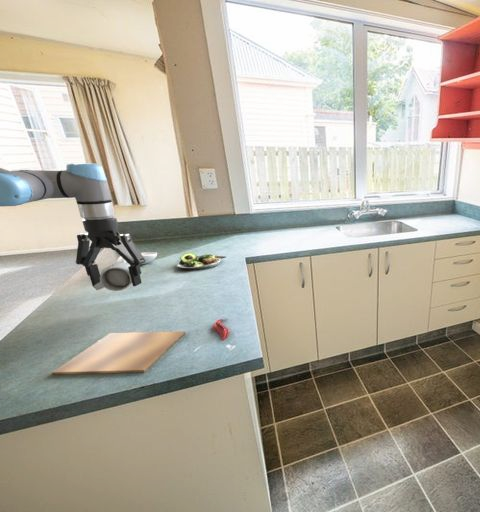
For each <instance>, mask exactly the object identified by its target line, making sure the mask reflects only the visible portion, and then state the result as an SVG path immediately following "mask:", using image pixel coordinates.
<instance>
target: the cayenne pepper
mask: <svg viewBox="0 0 480 512" xmlns="http://www.w3.org/2000/svg"><path fill="white" fill-rule="evenodd" d="M222 322H223V319H222V318H220V319H218V320H216V321H215V322H214V323H213V324H212V330H213V331H214V332H217V333H218V334H219V335H220V337H221V341H224V340H226V339H227V338H228V337H229V335H230V333H229V329H228V328H227V326H225V325H223V324H222Z"/></svg>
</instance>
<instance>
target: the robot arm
mask: <svg viewBox="0 0 480 512" xmlns="http://www.w3.org/2000/svg"><path fill="white" fill-rule="evenodd" d="M65 167H66V169H64V170H40V169H39V170H37V169H36V170H35V169H33V170H32V169H18V170H9V169H5V168H2V167H0V207H17V206H22V205H25V204H28V203H32V202H38V201H41V200H42V201H43V200H49V199H71V198H73V199H75V201H76V204H77V208H78V212H79V215H80V218H82V220H81V221H82V225H83V228H84V231H85V232H84V233H80V234H77V235H76V239H77V249H76V256H75V257H76V259H75V264H76V265H78V266H79V265H81V266H83V267H84V268H85V271H86V275H87V276H89V279H90V282H91V286H92V287H93V286H94V285H96V284H97V283H99V282H100V276H101V273H100V268H99V265H98V263H96V259H98V258H97V257H98V256H99V253H100V251H101V249H104V248H105V249H111V250H112V251H115V252H116V253H117V254H118V255H119V257H120V256H121V257H122V258H123V259H124V260H125V261H126V263H128V264H129V265H131V266H130V267H128V269H129V272H130V276H131V280H132V283H131V284H132V287H138V286H139V285H141V284H142V283H143V282H142V279H141V278H142V277H141V275H142V270H141V265H140V264H142V263H144V262H145V259H144V257H143V256H142V254H141V253H142V252H141V251H140V250H139V249H138V247H137V245H136V244H135V242H134V241H133V238H132V235H131V233H129V232H128V233H122V234H120V232H119V222H118V220H117V217H116V216H115V215H116V212H115V207H114V205H113V204H114V203H113V201H112V197H111V193H110V188H109V183H108V179H107V177H106V173H105V171H104V167H102V165H101V164H98V163H90V162H89V163H82V162H81V163H76V162H75V163H73V162H72V163H67V164H66V165H65ZM90 242H91V243H90ZM142 265H143V264H142Z"/></svg>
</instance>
